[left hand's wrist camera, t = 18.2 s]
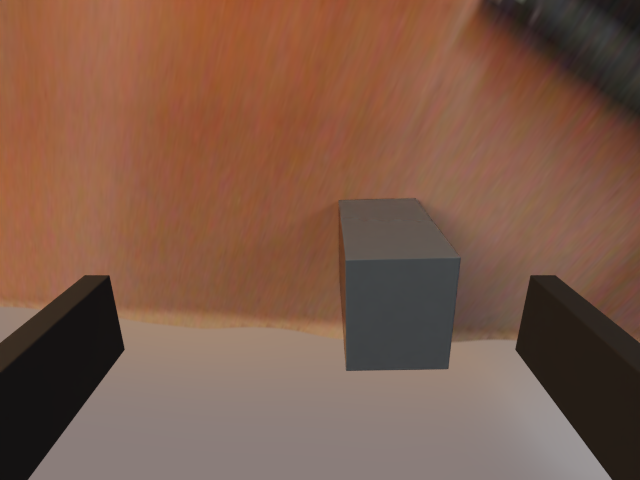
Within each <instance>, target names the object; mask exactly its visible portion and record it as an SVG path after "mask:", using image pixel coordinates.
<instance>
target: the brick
mask: <svg viewBox="0 0 640 480" xmlns="http://www.w3.org/2000/svg"><path fill="white" fill-rule="evenodd" d="M338 204H339V283H340V296H341V310H342V323H343V337H344V350H345V364H346V371H362V370H422V369H448V367H449V357H450V349H451V340H452V331H453V322H454V313H455V304H456V295H457V286H458V277H459V268H460V259H461V258H460V256H459V255H458V254H457V252H456V251H455V250H454V248H453V247H452V246H451V244H450V243H449V242H448V240H447V239H446V238H445V236H444V235H443V234H442V232H441V231H440V230H439V228H438V227H437V226H436V225H435V223H434V222H433V221H432V219H431V218H430V217H429V215H428V214H427V213H426V211H425V210H424V209H423V207H422V206H421V205H420V203H419V202H418V201H417V199H416V198H406V199H366V200H339V201H338Z"/></svg>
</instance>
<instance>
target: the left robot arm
mask: <svg viewBox="0 0 640 480" xmlns="http://www.w3.org/2000/svg"><path fill="white" fill-rule="evenodd" d="M123 351H124V344H123V339H122V334H121V330H120V325H119V320H118V315H117V310H116V305H115V300H114V296H113V291H112V286H111V281H110V276H109V275H85V276H83V277H82V278H81V279H80V280H78V281H77V282H76V283H75V284H73V285H72V286H71V287H70V288H68V289H67V290H66V291H65V292H63V293H62V294H61V295H60V296H58V297H57V298H56V299H55V300H53V301H52V302H51V303H50V304H48V305H47V306H46V307H45V308H43V309H42V310H41V311H40V312H38V313H37V314H36V315H35V316H33V317H32V318H31V319H30V320H28V321H27V322H26V323H25V324H23V325H22V326H21V327H20V328H18V329H17V330H16V331H15V332H13V333H12V334H11V335H10V336H9V337H7V338H6V339H5V340H3V341H2V342H1V343H0V480H28V479H29V477H30V476H31V475H32V473H33V472H34V471H35V469H36V468H37V467H38V465H39V464H40V462H41V461H42V460H43V459H44V457H45V456H46V455H47V453H48V452H49V450H50V449H51V448H52V446H53V445H54V444H55V442H56V441H57V440H58V438H59V437H60V436H61V434H62V433H63V432H64V430H65V429H66V428H67V426H68V425H69V424H70V422H71V421H72V420H73V418H74V417H75V416H76V414H77V413H78V412H79V410H80V409H81V407H82V406H83V405H84V403H85V402H86V401H87V399H88V398H89V397H90V395H91V394H92V393H93V391H94V390H95V389H96V387H97V386H98V385H99V383H100V382H101V381H102V379H103V378H104V377H105V375H106V374H107V373H108V371H109V370H110V369H111V367H112V366H113V365H114V363H115V362H116V360H117V359H118V358H119V356H120V355H121V354H122V352H123ZM516 351H517V352H518V354H519V355H520V356H521V358H522V359H523V360H524V362H525V363H526V364H527V366H528V367H529V368H530V370H531V371H532V373H533V374H534V375H535V377H536V378H537V379H538V381H539V382H540V383H541V385H542V386H543V387H544V389H545V390H546V391H547V393H548V394H549V395H550V397H551V398H552V399H553V401H554V402H555V403H556V405H557V406H558V407H559V409H560V410H561V412H562V413H563V414H564V416H565V417H566V418H567V420H568V421H569V422H570V424H571V425H572V426H573V428H574V429H575V430H576V432H577V433H578V434H579V436H580V437H581V438H582V440H583V441H584V442H585V444H586V445H587V446H588V448H589V449H590V450H591V452H592V453H593V454H594V456H595V457H596V459H597V460H598V461H599V463H600V464H601V465H602V467H603V468H604V469H605V471H606V472H607V473H608V475H609V476H610V477H611V479H612V480H640V343H639V342H638V341H637V340H635V339H634V338H633V337H632V336H630V335H629V334H628V333H627V332H625V331H624V330H623V329H622V328H620V327H619V326H618V325H617V324H615V323H614V322H613V321H612V320H610V319H609V318H608V317H607V316H605V315H604V314H603V313H602V312H600V311H599V310H598V309H597V308H595V307H594V306H593V305H592V304H590V303H589V302H588V301H587V300H585V299H584V298H583V297H582V296H580V295H579V294H578V293H577V292H575V291H574V290H573V289H572V288H570V287H569V286H568V285H567V284H565V283H564V282H563V281H562V280H560V279H559V278H558V277H557V276H555V275H531V276H530V281H529V286H528V291H527V296H526V300H525V305H524V310H523V315H522V320H521V325H520V330H519V334H518V339H517V344H516Z"/></svg>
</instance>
